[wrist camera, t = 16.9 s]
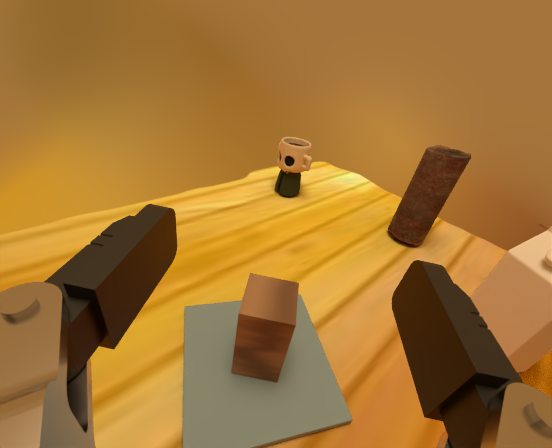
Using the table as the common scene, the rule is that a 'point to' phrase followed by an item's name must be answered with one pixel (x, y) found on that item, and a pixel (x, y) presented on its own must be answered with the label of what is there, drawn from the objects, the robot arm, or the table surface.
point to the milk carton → (520, 301)
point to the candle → (427, 193)
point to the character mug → (292, 164)
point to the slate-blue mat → (254, 385)
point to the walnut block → (265, 327)
